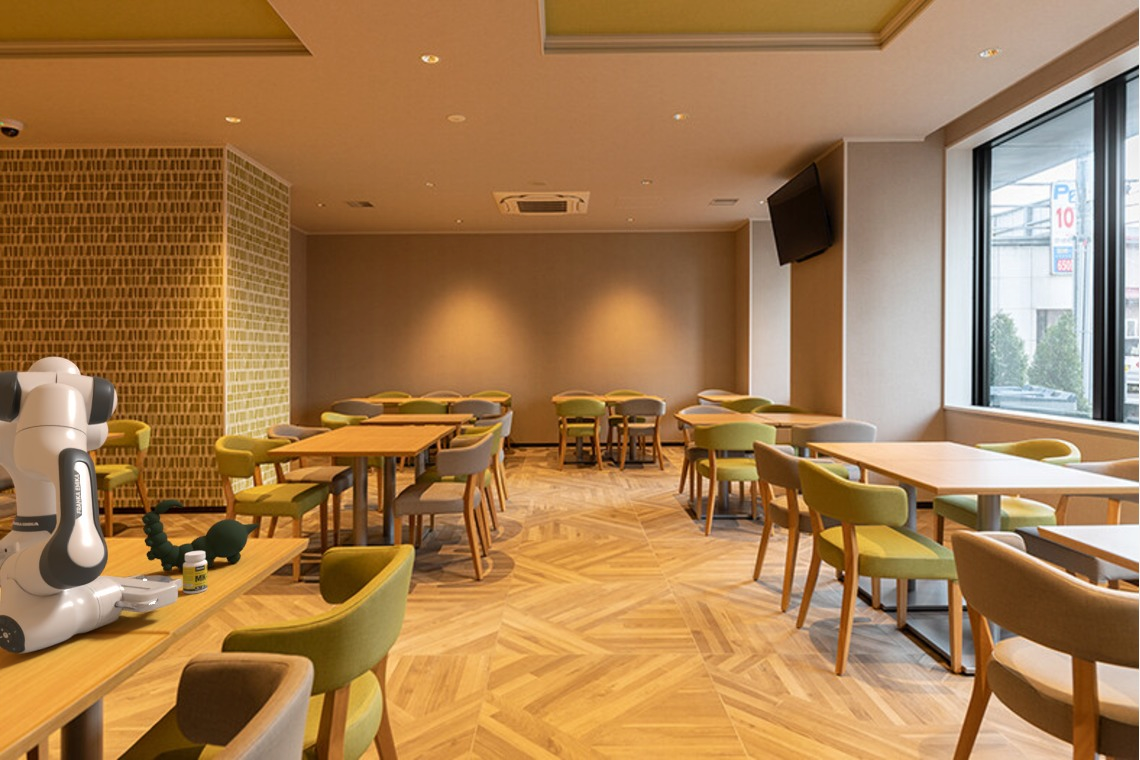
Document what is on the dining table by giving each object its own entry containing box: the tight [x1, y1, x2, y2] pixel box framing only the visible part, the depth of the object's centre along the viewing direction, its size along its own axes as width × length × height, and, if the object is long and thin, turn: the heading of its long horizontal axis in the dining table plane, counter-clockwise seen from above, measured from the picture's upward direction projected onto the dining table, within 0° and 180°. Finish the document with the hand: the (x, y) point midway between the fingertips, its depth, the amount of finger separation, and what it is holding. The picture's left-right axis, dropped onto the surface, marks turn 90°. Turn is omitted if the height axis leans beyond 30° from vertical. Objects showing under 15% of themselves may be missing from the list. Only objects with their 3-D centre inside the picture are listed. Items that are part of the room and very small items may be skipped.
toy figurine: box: [141, 499, 260, 573], centre depth 165 cm, size 9×19×25 cm
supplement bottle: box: [182, 551, 209, 595], centre depth 147 cm, size 5×5×8 cm
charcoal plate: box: [146, 575, 174, 583], centre depth 149 cm, size 15×15×1 cm
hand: (161, 580), depth 139 cm, fingers open, 8 cm apart
